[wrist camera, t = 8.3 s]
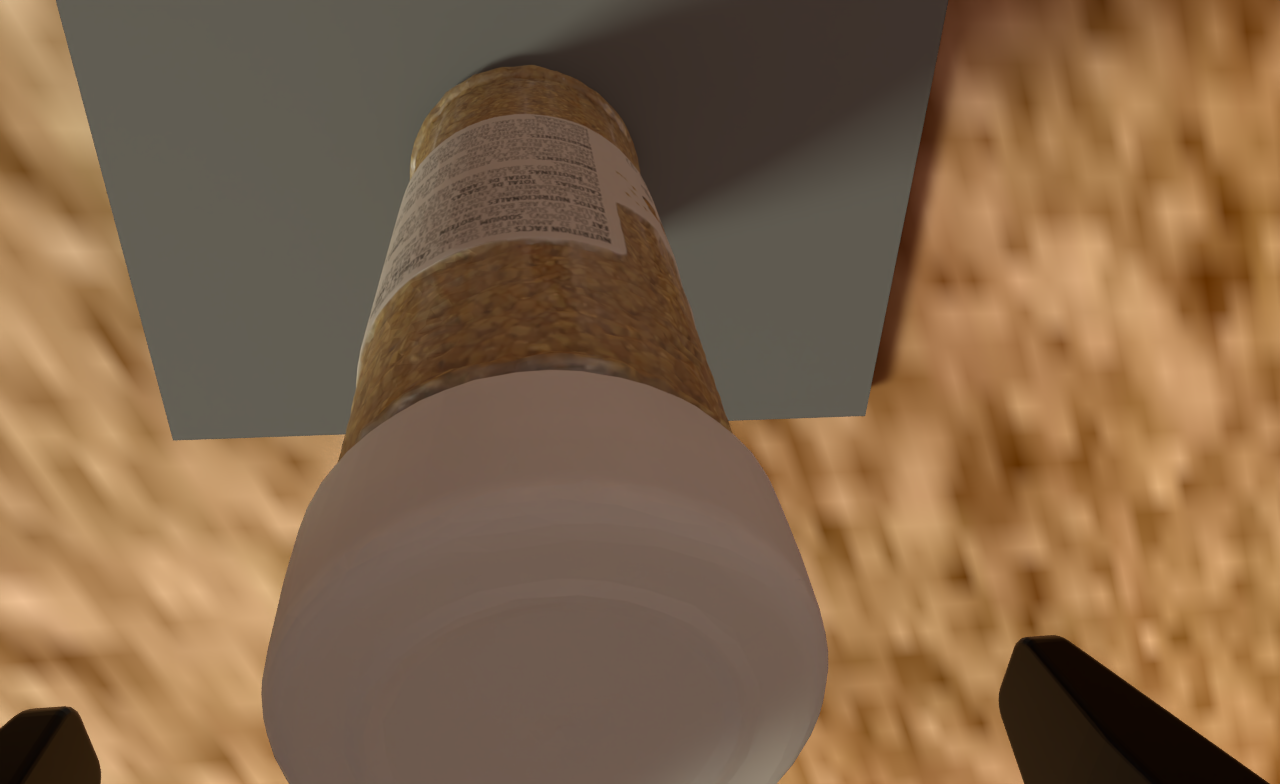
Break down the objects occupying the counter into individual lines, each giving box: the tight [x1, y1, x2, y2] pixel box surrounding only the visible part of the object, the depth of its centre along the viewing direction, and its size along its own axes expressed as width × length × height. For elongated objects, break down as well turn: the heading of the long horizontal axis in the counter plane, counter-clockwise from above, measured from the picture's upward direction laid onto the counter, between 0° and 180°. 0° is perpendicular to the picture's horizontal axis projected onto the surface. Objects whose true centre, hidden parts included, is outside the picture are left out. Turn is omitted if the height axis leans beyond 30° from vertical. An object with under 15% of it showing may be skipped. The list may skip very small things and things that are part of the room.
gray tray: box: [56, 0, 948, 440], centre depth 19 cm, size 16×12×1 cm
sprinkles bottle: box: [262, 65, 828, 784], centre depth 13 cm, size 5×5×13 cm
